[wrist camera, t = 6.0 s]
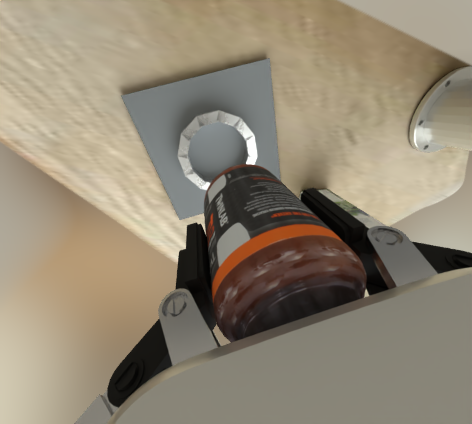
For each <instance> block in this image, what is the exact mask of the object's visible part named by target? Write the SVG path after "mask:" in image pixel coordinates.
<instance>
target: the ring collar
mask: <svg viewBox="0 0 472 424" xmlns="http://www.w3.org/2000/svg"><path fill="white" fill-rule="evenodd" d="M216 122H221V123H224V124H227V125H230V126H233V127H234V128H235V129H236V130H237V131H238V133H239V134H240V135H241V136H242V137H243V142H244V148H245V155H244V158H243V161H242V164H252V165H254V164H255V161H256V158H257V150H256V143H255V137H254V134H253V133H252V132H251V130H250V129H249V128H248V126H247V125H246V124H245V123H244V121H243V120H242V119H241V118H240V117H237V116H234V115H231V114H228V113H225V112H223V111H220V110H214V111H210V112H206V113H203V114H199V115H196V116H195V117H194V118H193V119H192V121H191V122H190V123H189V124H188V125H187V126H186V127H185V129H184V130H183V131H182V132H181V137H180V144H179V150H178V159H179V161H180V164H181V166H182V169H183V171H184V174H185V176H186V177H187V178H188V179H189V180H191V181H192V182H193V183H194V184H196V185H197V186H198V187H199V188H200V189H204V190H207V189H208V187H209V185H210V184H211V182H212V181H213V180H214V179H212V178H207V177H204V176H203V175H201V174H200V173H199V172H198V171H197V170H196V169H195V168H193V166H192V163H191V160H190V157H189V155H188V150H189V145H190V139H191V138H192V137H193V136H194V135H195V134H196V133H197V132H198V130H199V129H200V128H201V127H202V126H205V125H209V124H213V123H216Z"/></svg>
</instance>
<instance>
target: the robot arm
mask: <svg viewBox="0 0 472 424" xmlns="http://www.w3.org/2000/svg"><path fill="white" fill-rule="evenodd" d="M409 138H410V142H411V145H412V146H413V148H415V149H416V150H418V151H421V152H427V153H430V152H435V151H439V150H441V149H443V148H445V147H447V146H448V147H453V148H459V149H465V150H471V151H472V66H468V67H462V68H459V69H456V70H454V71H452V72H450V73H449V74H447V75H446V76H444V77H443V78H442V79H440V80H439V81H438V82H437V83H436V84H435V85H434V86H433V87H432V88H431V89H430V90H429V91H428V93H427V94H426V95H425V97H424V98H423V99H422V101H421V102H420V104H419V106H418V108H417V109H416V111H415V114H414V116H413V118H412V122H411V125H410V131H409ZM300 199H301V201H302V203H304V204H305V205H306V206H307V207H308V208H309V209H310V210H311V211H312V212H313V213H314V214H315V215H316V216H318V218H319V219H320V220H321V221H323V222H324V223H325V224H326V225H327V226H328V227H329V228H330V229H331V230H332V231H333V232H334V233H335V234H336V235H337V236H338V237H339V238H340V239H341V240H342V241H343V242H344V243H345V244H347V245H348V246H349V247H350V248H351V249H352V250H353V251H354V253H355V254H356V255H357V256H358V257H359V259H360V261H361V262H362V264H363V267H364V269H365V272H366V291H365V298H362V299H359V300H356V301H353V302H350V303H347V304H344V305H341V306H338V307H335V308H332V309H329V310H326V311H323V312H320V313H317V314H314V315H311V316H308V317H305V318H302V319H299V320H296V321H293V322H290V323H287V324H284V325H282V326H279V327H276V328H273V329H270V330H267V331H264V332H261V333H258V334H255V335H252V336H249V337H246V338H244V339H241V340H238V341H235V342H232V343H229V344H227V345H224V346H221V345H220V343H219V341H218V339H217V337H216V335H215V333H214V331H213V329H214V327H215V326H216V324H217V323H216V322H217V321H216V318H215V313H214V306H213V296H212V289H211V278H210V268H209V260H208V247H207V237H206V235H205V232H204V230H203V227H202V225H201V224H199V225H198V224H197V223H193V224H190V225H187V238H186V249H184V250H181V251H180V252H179V258H178V269H177V279H176V290H174V291H172V292H170V293H169V294H168V295H166V297H165V298H164V299H163V300H162V302H161V304H160V306H159V310H158V311H159V319H158V321H157V322H156V323H155V324H154V325H153V326H152V328H151V329H150V330H149V331H148V332H147V333H146V334H145V336H144V337H143V338H142V339H141V340H140V342H139V343H138V344H137V345H136V346H135V347H134V348H133V350H132V351H131V352H130V353H129V354H128V355H127V356H126V358H125V359H124V360H123V361H122V362H121V363H120V365H119V366H118V367H117V369H116V370H115V371H114V373H113V375H112V377H111V379H110V382H109V385H108V390H107V391H106V392H105V393H104V395H103V396H102V395H100V394H99V396H98V397H97V398H96V399H95V400H94V401H93V403H92V404H91V405H90V406H89V407H88V408H87V410H86V411H85V412H84V413H83V414H82V416H81V417H80V418H79V419H78V420H77V421H76V422H75V424H472V253H469V252H465V251H461V250H455V249H450V248H444V247H438V246H433V245H427V244H422V243H417V242H411V241H410V240H409V238H408V237H407V236H406V235H405V234H404V233H403V232H401V231H400V230H398V229H395V228H392V227H388V226H375V227H372V228H370V229H369V228H368V227H366V226H365V224H363V223H362V222H361V221H359V220H358V219H356V218H355V217H354V216H352V215H351V214H349V213H348V212H347V211H345V210H344V209H343V208H341V207H340V206H338V205H337V204H336V203H334V202H333V201H331V200H330V199H329V198H327V197H326V196H324V195H323V194H322V193H320V192H319V191H318V190H316V189H315V188H310V189H306V190H304V191H303V193H301V195H300Z"/></svg>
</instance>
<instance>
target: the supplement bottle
mask: <svg viewBox="0 0 472 424" xmlns="http://www.w3.org/2000/svg"><path fill="white" fill-rule="evenodd" d="M204 216H205V228H206V237H207V247H208V260H209V268H210V278H211V289H212V296H213V306H214V313H215V318H216V321H217V326H218V327H219V329H220V331H221V332H222V333H223V335H224V336H225V337H226V338H227V339H228V340H229V341H230V342H231V343H232V342H235V341H238V340H241V339H244V338H246V337H249V336H252V335H255V334H258V333H261V332H264V331H267V330H270V329H273V328H276V327H279V326H282V325H284V324H287V323H290V322H293V321H296V320H299V319H302V318H305V317H308V316H311V315H314V314H317V313H320V312H323V311H326V310H329V309H332V308H335V307H338V306H341V305H344V304H347V303H350V302H353V301H356V300H359V299H362V298H364V296H365V291H366V272H365V269H364V267H363V264H362V262H361V261H360V259H359V257H358V256H357V255H356V254H355V253H354V251H353V250H352V249H351V248H350V247H349V246H348V245H347V244H345V243H344V242H343V241H342V240H341V239H340V238H339V237H338V236H337V235H336V234H335V233H334V232H333V231H332V230H331V229H330V228H329V227H328V226H327V225H326V224H325V223H324V222H323V221H321V220H320V219H319V218H318V216H316V215H315V214H314V213H313V212H312V211H311V210H310V209H309V208H308V207H307V206H306V205H305V204H304V203H302V201H301V200H300V199H299V198H297V197H296V196H295V195H294V194H293V193H292V192H291V191H290V190H289V189H288V188H287V187H286V186H285V185H284V184H283V183H282V182H281V181H280V180H279V179H277V177H276V176H274V175H273V174H272V173H271V172H270V171H268V170H267V169H265V168H263V167H261V166H258V165H252V164H241V165H236V166H233V167H230V168H228V169H226V170H224V171H223V172H222V173H220V174H219V175H218V176H216V178H215V179H214V180H213V181H212V182H211V184H210V185H209V187H208V189H207V191H206V194H205V199H204Z"/></svg>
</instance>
